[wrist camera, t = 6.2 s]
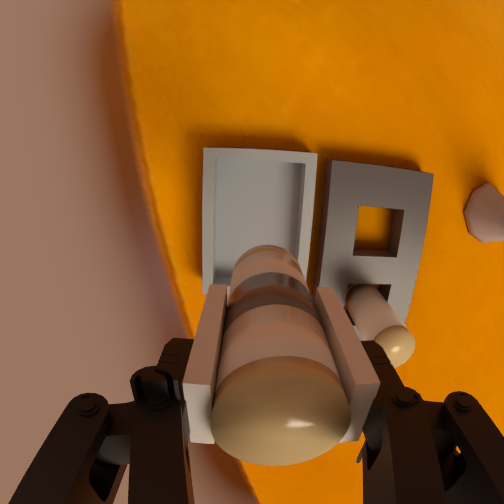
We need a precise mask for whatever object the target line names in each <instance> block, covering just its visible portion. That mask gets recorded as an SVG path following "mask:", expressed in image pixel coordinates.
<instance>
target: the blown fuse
mask: <svg viewBox="0 0 504 504" xmlns="http://www.w3.org/2000/svg"><path fill="white" fill-rule="evenodd" d="M350 423H351V410H350V407H349V403H348V400H347V397H346V394H345V391H344V388H343V385H342V382H341V379H340V376H339V373H338V371H337V368H336V365H335V362H334V359H333V356H332V353H331V350H330V347H329V344H328V342H327V339H326V336H325V333H324V330H323V327H322V325H321V322H320V319H319V316H318V314H317V311H316V308H315V305H314V303H313V300H312V297H311V294H310V292H309V289H308V286H307V284H306V281H305V278H304V275H303V273H302V270H301V267H300V265H299V263H298V261H297V259H296V258H295V257H294V256H293V255H292V254H291V253H290V252H289V251H287V250H286V249H284V248H282V247H279V246H275V245H260V246H256V247H253V248H251V249H249V250H248V251H246V252H245V253H243V254H242V255H241V256H240V257H239V259H238V260H237V262H236V263H235V265H234V268H233V272H232V278H231V285H230V291H229V298H228V304H227V311H226V318H225V324H224V331H223V338H222V345H221V352H220V359H219V366H218V373H217V380H216V387H215V394H214V401H213V409H212V416H211V427H210V428H211V433H212V436H213V438H214V440H215V441H216V443H217V444H218V445H219V446H220V448H222V449H223V450H224V451H225V452H227V453H228V454H230V455H231V456H233V457H235V458H237V459H240V460H242V461H245V462H249V463H253V464H258V465H266V466H282V465H291V464H296V463H301V462H304V461H308V460H310V459H313V458H315V457H318V456H320V455H322V454H323V453H325V452H327V451H329V450H330V449H331V448H333V447H334V446H335V445H336V444H337V443H339V442H340V440H341V439H342V438H343V437H344V436H345V434H346V433H347V431H348V429H349V426H350Z"/></svg>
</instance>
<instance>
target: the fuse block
mask: <svg viewBox="0 0 504 504" xmlns="http://www.w3.org/2000/svg"><path fill="white" fill-rule="evenodd" d="M433 175H434V174H431V173H427V172H422V171H416V170H410V169H403V168H397V167H390V166H382V165H375V164H367V163H359V162H350V161H341V160H331V159H326V168H325V181H324V193H323V205H322V215H321V226H320V235H319V245H318V254H317V262H316V271H315V279H314V287H313V294H312V300H313V303H314V304H315V296H316V289H317V287H330V288H333V289H334V291H335V293H336V295H337V296H338V298H339V300H340V302H341V304H342V306H343V308H344V304H345V298H346V292H347V287H348V284H381V289H380V294H381V295H382V296H383V297H384V299H385V300H386V301H387V302H388V304H389V305H390V306H391V308H392V309H393V310H394V311H395V313H396V314H397V315H398V317H399V318H400V319H401V321H402V322H403V323H404V324H405V321H406V317H407V314H408V310H409V306H410V302H411V298H412V294H413V290H414V286H415V282H416V278H417V273H418V269H419V264H420V259H421V254H422V249H423V244H424V238H425V233H426V227H427V221H428V214H429V207H430V200H431V192H432V184H433ZM359 206H371V207H381V208H392V209H394V213H393V220H392V227H391V234H390V240H389V246H388V250H381V249H361V248H354V241H355V233H356V226H357V217H358V209H359ZM347 316H348V318H349V320H350V322H351V324H352V326H353V328H354V330H355V332H356V333H357V335H358V337H359V339H360V341H363V339H362V337H361V335H360V333H359V331H358V329H357V327H356V325H355V323H354V321H353V320H352V318H351V316H350V315H347Z"/></svg>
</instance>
